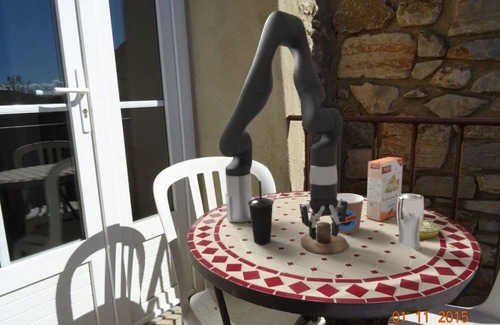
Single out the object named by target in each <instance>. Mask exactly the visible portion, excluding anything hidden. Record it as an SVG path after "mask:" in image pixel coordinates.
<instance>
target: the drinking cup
mask: <svg viewBox="0 0 500 325" xmlns="http://www.w3.org/2000/svg"><path fill="white" fill-rule="evenodd" d="M262 194H263V193H262V181H261V180H258V196H259V197H254V198H252V200H250V201H249V202H248V205H249V209H250V216H251V220H250V222H251V228H252V236H253V242H254V243H255V244H257V245H267V244H270V243H271V242H272V239H271V238H272V224H273V222H272V220H273V205H274V203H275V202H274V200H273V199H271V198H268V197H265V196H264V197H263V196H262Z"/></svg>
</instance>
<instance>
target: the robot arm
mask: <svg viewBox="0 0 500 325" xmlns="http://www.w3.org/2000/svg"><path fill="white" fill-rule="evenodd" d="M279 46H281V47H285V48H288V50H289V52H290V54H291V55H292V57H293V62H294V65H293V74H292V78H293V79H292V80H293V84H294V87H295V91H296V93H297V95H298V98H299V101H300V107H301V108H300V109H301V115H302V117H301V118H302V125H303V128H304V130H305V131H306V132H307V133H308V134H309V135H312V136H321V137H320V140H319V141H318V142H316V143H314V144H312V145H311V147H310V151H309V152H310V154H309V155H310V156H309V157H310V161H309V162H310V169H309V197H310V201H309V202H308V203H306V204H302V203H301V204H299V210H300V211H299V212H300V216H301V217H300V218H301V222H302V224H303V225H304V226H305V227H308V234H309V236H310V237H311V238H312V239H313V240H316V232H317V223H318V221H320V219H321V217H325V216H327V217H330V219H331V220H330V221H331V223H330V224H331V233H332V235H333V236H334V237H336V236H337V235H339V234H340V233H339V223H340V222H342V221H345V218H346V210H347V201H345V200H343V199H340V200H337V194H338V169H337V149H338V146H339V142H340V138H341V134H342V130H343V117H342V115H341V113H340V112H339V110H338V109H336V108H332V107H328V108H319V106H318V105H320V104H321V103H322V102H324V101H325V99H326V91H325V89H324V87H323V84H322V82H321V80H320V76H319V75H318V73H317V70H316V67H315V64H314V61H313V57H312V53H311V49H310V44H309V39H308V34H307V30H306V26H305V24H304V22H303V20H302V18H300V17H299V16H297V15H294V14H291V13H289V12H285V11H282V10H279V9H278V10H275V11H273V12H271V13H270V14H269V16H268V17H267V19H266V21H265V23H264V26H263V29H262V33H261V35H260V39H259V43H258V46H257V48H256V53H255V55H254V58H253V61H252V64H251V66H250V70H249V72H248V73H247V76H246V79H245V81H244V83H243V86H242V89H241V92H240V94H239V97H238V99H237V101H236V104H235V107H234V109H233V111H232V112H231V113H232V114H231V115H230V118H229V120H228V121H227V123H226V126H224V128H223V130H222V133H221V135H220V137H219V140H218V147H219V148H218V149H219V152H220V153H221V155H222V156H224V157H226V158H232V160H231V162H230V163H229V164H227V166H225V184H226V185H225V186H226V187H225V188H226V189H225V190H226V193H225V204H226V218H227V219H228V221H229V223H245V222H248V221H251V216H250V209H249V205H248V202H249V201H250V200H252V199H253V198H252V196H253V194H252V183H251V182H252V178H251V175H252V174H251V171H252V170H251V169H252V166H253V141H252V138H251V135H250V133H249V132H248V131H247V130H246V129H247V127H248V126H249V124H251V122H252V121H253V120H254V119H255V118H256V117H257V116H258V115H259V114H260V113H261V112H262V111H263V110H264V108H265V106H266V105H267V102H268V100H269V98H270V96H271V94H272V91H273V88H274V78H273V68H272V67H273V60H274V57H275V55H276V52H277V50H278V47H279ZM337 205H338V207H339V208H338V216H337V214H336V212H335V208H336V206H337ZM310 209H311V212H310ZM309 212H310V217H309Z"/></svg>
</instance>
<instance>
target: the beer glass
mask: <svg viewBox="0 0 500 325" xmlns="http://www.w3.org/2000/svg"><path fill="white" fill-rule="evenodd" d="M424 210H425V203H424V196H423V195H420V194H416V193H407V192H405V193H401V194H399V195H398V199H397V209H396V222H397V227H398V239H397V243H398V244H399V245H400V246H403V247H408V248H411V249H413V250H415V251H420V250H421V240H420V239H419V235H420V230H421V226H422V222H423V220H424V215H425V211H424Z"/></svg>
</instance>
